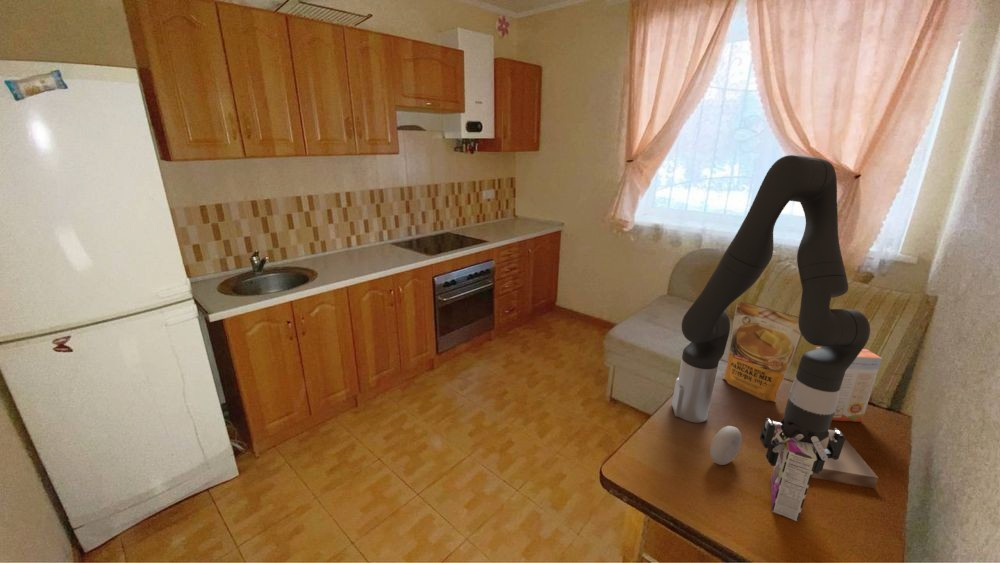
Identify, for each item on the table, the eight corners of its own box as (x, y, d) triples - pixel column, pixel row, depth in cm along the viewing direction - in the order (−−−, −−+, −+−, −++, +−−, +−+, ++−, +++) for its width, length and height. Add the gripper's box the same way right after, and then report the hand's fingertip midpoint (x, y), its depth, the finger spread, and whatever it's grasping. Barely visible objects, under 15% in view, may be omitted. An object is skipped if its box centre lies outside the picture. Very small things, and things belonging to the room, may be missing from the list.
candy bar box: (768, 478, 93) (784, 419, 88) (794, 487, 91) (812, 427, 86) (769, 512, 84) (787, 449, 79) (798, 523, 82) (819, 459, 77)
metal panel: (795, 474, 95) (798, 464, 94) (769, 431, 109) (772, 422, 108) (874, 488, 91) (878, 477, 90) (837, 441, 106) (840, 432, 105)
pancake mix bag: (725, 373, 139) (741, 298, 130) (786, 400, 124) (809, 317, 115) (715, 378, 135) (730, 302, 126) (776, 407, 120) (799, 322, 111)
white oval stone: (727, 450, 102) (734, 417, 99) (740, 458, 99) (748, 425, 96) (703, 464, 97) (710, 430, 94) (716, 474, 94) (724, 439, 91)
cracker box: (846, 410, 119) (867, 348, 113) (862, 423, 113) (885, 358, 107) (797, 407, 120) (815, 345, 114) (810, 419, 114) (829, 355, 108)
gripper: (779, 406, 78) (761, 473, 83) (864, 418, 75) (840, 487, 80) (765, 386, 85) (749, 448, 90) (842, 396, 82) (821, 460, 87)
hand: (792, 466), depth 85 cm, fingers open, 7 cm apart
